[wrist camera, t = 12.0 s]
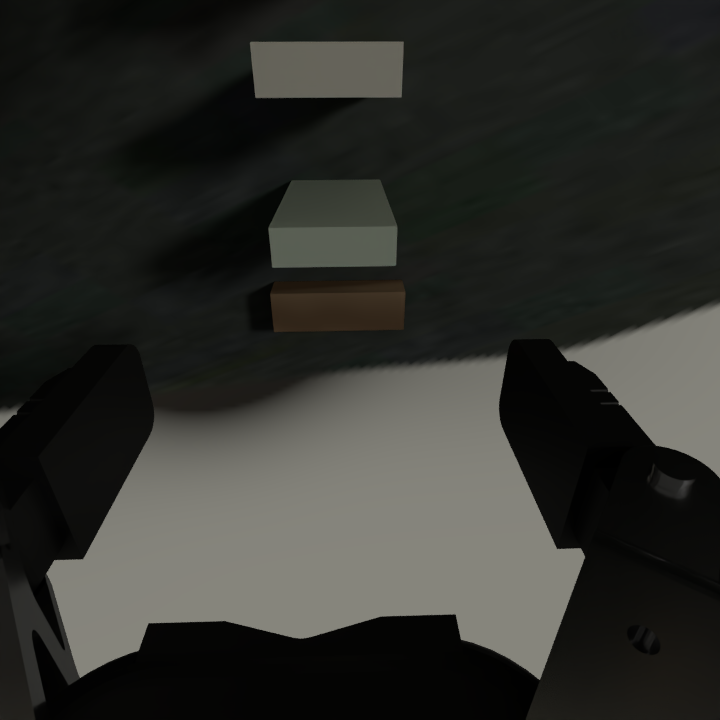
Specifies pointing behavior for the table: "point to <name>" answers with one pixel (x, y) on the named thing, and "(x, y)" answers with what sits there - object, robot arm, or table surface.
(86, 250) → the table surface
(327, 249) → the sage domino
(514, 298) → the table surface
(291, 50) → the domino
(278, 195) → the table surface
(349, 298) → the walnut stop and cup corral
